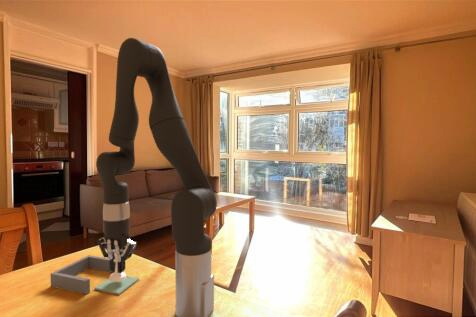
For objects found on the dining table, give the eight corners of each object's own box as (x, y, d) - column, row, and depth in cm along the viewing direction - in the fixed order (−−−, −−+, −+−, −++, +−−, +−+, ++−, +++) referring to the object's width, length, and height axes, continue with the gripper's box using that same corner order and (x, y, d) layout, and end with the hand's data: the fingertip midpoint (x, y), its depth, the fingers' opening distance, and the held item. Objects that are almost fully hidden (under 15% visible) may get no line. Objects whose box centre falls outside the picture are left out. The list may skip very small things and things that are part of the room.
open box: (121, 271, 94) (121, 260, 93) (86, 294, 80) (86, 281, 80) (89, 265, 98) (88, 255, 97) (50, 286, 84) (50, 273, 84)
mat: (139, 280, 88) (139, 278, 88) (119, 295, 80) (119, 293, 80) (116, 275, 91) (116, 273, 91) (94, 289, 82) (94, 287, 82)
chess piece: (119, 282, 82) (119, 250, 82) (105, 280, 83) (104, 248, 83) (129, 274, 87) (129, 244, 86) (115, 273, 88) (115, 242, 87)
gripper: (143, 215, 86) (144, 269, 87) (107, 211, 90) (108, 263, 91) (127, 222, 78) (128, 280, 79) (88, 217, 82) (89, 273, 84)
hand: (117, 271), depth 85 cm, fingers closed on chess piece
